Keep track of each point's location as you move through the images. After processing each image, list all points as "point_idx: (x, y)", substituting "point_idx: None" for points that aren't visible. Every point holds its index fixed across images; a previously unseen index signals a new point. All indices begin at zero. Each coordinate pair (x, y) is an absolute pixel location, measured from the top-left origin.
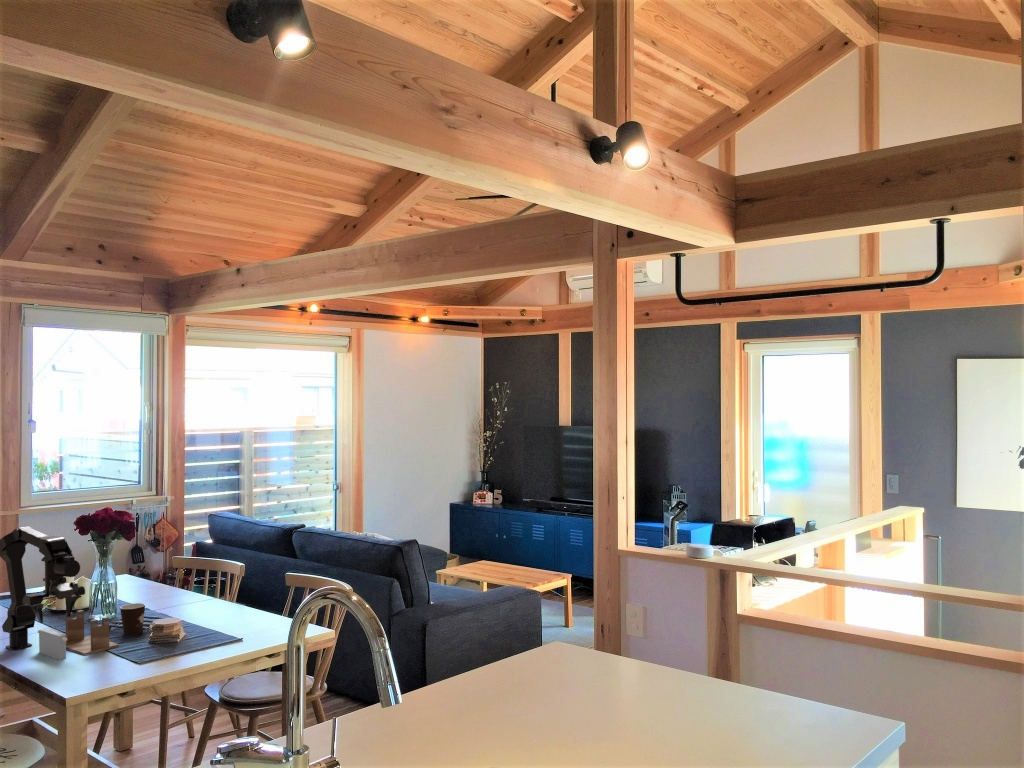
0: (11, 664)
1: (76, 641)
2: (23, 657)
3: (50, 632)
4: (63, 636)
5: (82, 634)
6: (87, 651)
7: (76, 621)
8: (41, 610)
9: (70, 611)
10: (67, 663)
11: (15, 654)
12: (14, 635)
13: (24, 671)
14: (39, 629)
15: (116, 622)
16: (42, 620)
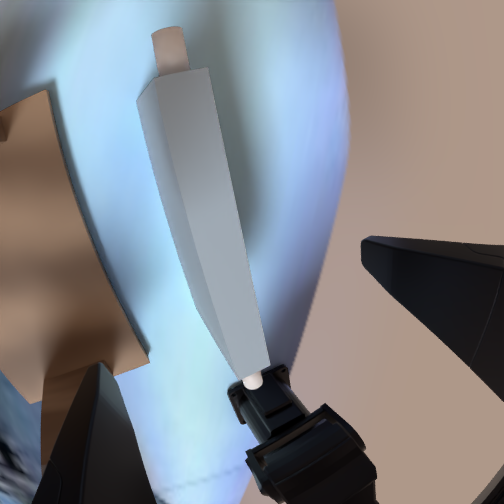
0: (335, 181)
1: (69, 358)
2: (283, 258)
3: (234, 260)
4: (172, 75)
5: (48, 393)
6: (25, 116)
7: None
8: (493, 260)
9: (80, 408)
10: (159, 3)
11: (291, 317)
12: (301, 406)
13: (324, 39)
14: (257, 387)
15: (7, 481)
16: (383, 242)
